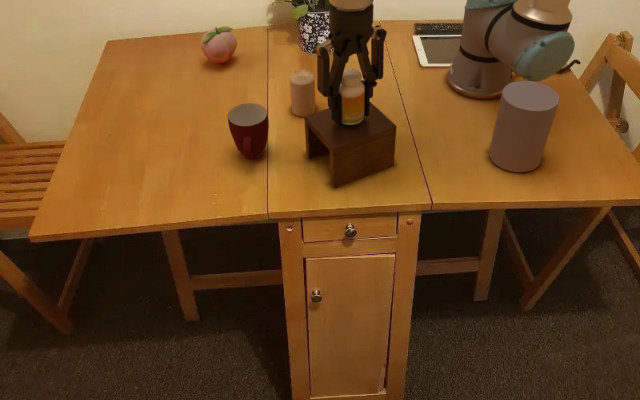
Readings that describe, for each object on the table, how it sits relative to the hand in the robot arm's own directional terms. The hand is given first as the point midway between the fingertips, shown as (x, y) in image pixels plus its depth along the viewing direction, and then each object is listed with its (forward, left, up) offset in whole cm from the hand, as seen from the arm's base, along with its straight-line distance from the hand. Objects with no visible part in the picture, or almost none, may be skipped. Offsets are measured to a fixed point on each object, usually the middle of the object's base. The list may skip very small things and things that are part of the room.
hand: (350, 116), depth 113 cm
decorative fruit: (+9, -51, -11) cm, 53 cm away
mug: (+17, -11, -11) cm, 23 cm away
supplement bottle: (0, 0, -1) cm, 1 cm away
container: (-30, +16, -11) cm, 36 cm away
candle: (0, -21, -11) cm, 24 cm away
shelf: (0, 0, -11) cm, 11 cm away
